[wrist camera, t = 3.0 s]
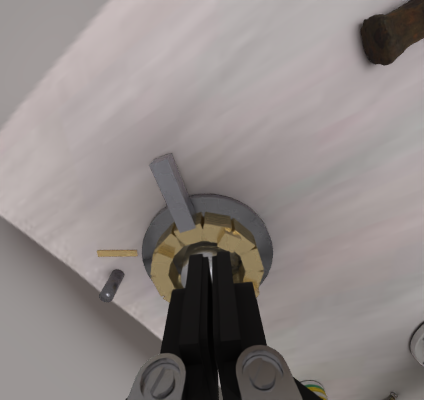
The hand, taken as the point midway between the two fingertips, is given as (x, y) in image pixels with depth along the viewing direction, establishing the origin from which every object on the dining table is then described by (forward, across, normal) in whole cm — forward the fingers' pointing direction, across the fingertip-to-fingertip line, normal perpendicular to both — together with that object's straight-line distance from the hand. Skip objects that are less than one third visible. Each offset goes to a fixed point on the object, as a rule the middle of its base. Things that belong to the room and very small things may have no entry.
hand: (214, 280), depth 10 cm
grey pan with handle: (+17, +3, +8) cm, 19 cm away
